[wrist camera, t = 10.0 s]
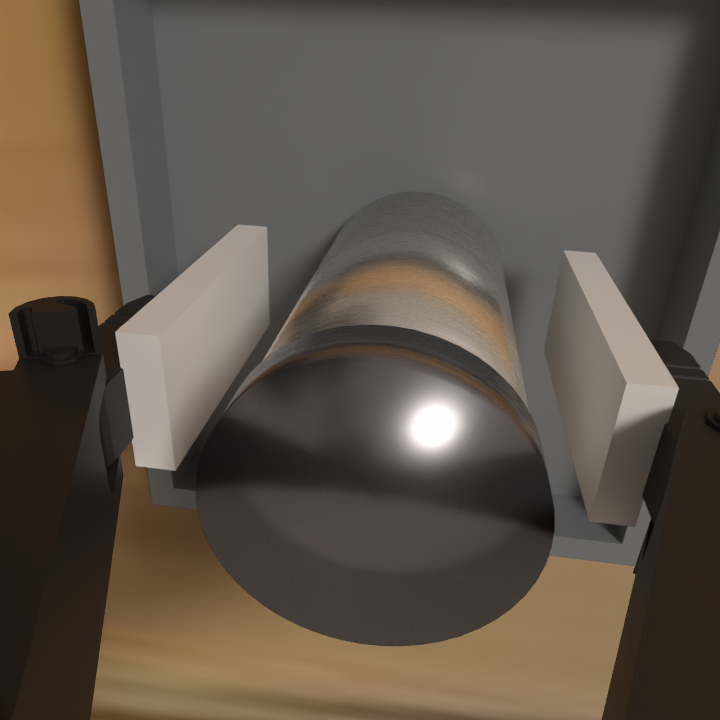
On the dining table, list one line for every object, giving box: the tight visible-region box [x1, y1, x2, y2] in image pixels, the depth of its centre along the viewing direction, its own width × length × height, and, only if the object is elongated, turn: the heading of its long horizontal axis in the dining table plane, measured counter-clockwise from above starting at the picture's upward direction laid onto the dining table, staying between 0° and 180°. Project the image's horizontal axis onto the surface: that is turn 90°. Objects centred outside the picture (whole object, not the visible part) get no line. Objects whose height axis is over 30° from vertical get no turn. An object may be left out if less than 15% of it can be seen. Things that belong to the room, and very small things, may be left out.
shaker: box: [195, 191, 555, 646], centre depth 14 cm, size 5×5×10 cm
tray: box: [79, 0, 720, 566], centre depth 17 cm, size 17×16×3 cm
